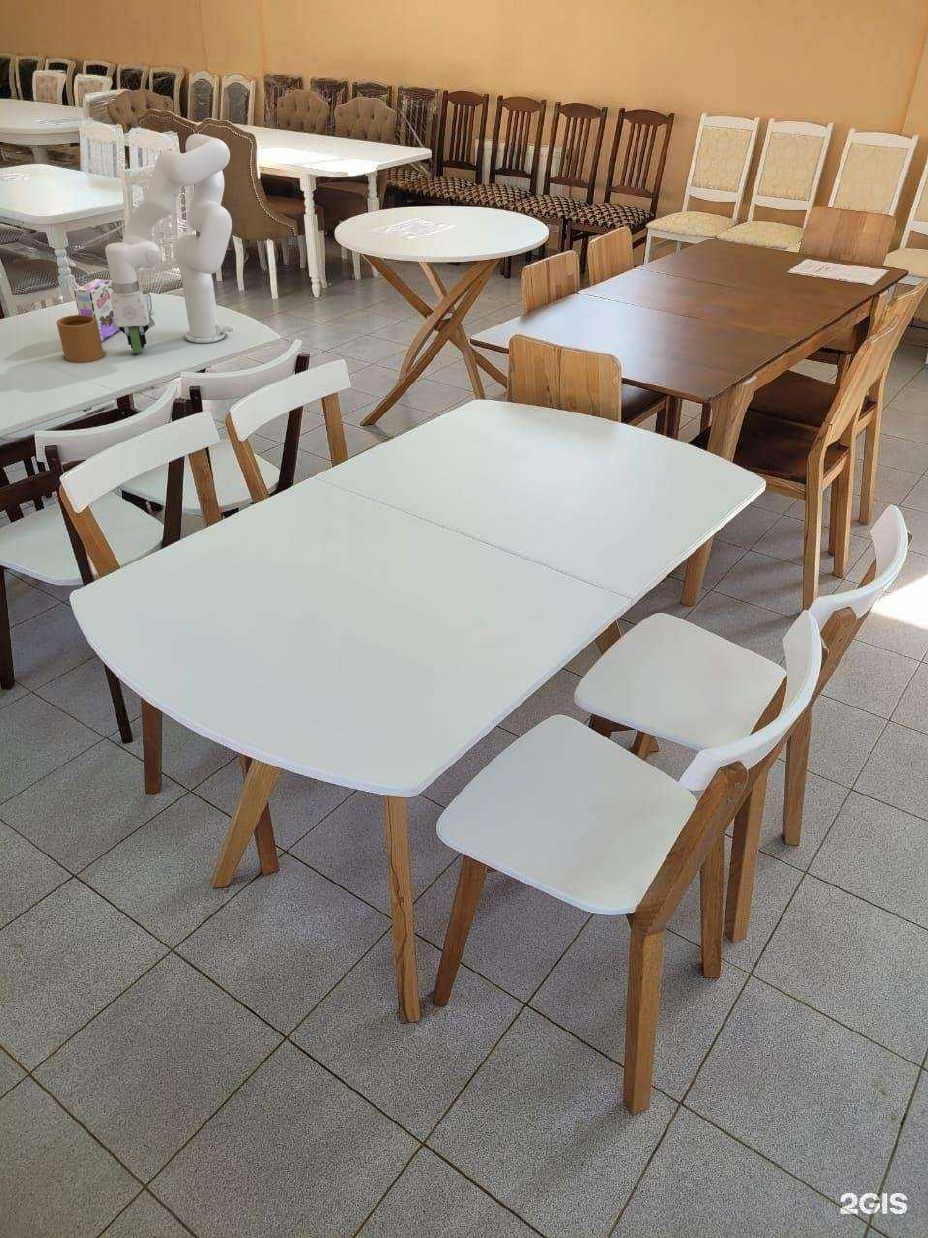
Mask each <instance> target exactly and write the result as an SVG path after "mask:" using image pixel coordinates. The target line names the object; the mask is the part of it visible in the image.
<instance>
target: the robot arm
mask: <svg viewBox="0 0 928 1238" xmlns="http://www.w3.org/2000/svg"><path fill="white" fill-rule="evenodd" d="M184 146H185V152H183V153H182V152H179V151H176V150H175V151H174V150H163V151H161V152H160V153H159V154H158V156H157V157H156V160H155V164H154V167H153V169H152V173H151V176H150V179H149V183H148V186H147V189H146V192H145V195H144V198H143V199H142V201H141V202H140V204H138V206H137V207H136V208H135V210H134V211H133V212H132V214H131V216H130V217H129V219H128V221H127V224H126V226H125V229H124V233H123V236H122V240H121V242H112V243H108V244H107V245H106V246H105V249H104V251H105V256H106V261H107V266H108V271H109V275H110V280H112V282H111V283H110V284H107V286H108V288H111V289H112V290H113V292H112V293H111V300H112V309H113V315H114V321H113V325H112V327H113V328H116V329H119V330H120V331H119V332H121V333H123V334H124V335H125V336H126V339H127V344H128V345H129V346H130V348H131V349H133V347H132V342H131V337H130V332H129V329H128V327H133V326H139V330H140V335H139V337H140V342H141V347H142V348H143V349H144V348H145V346H146V345H147V338H146V333H147V331H149V329H151V328H153V327H154V326H155V325H156V322H155V320H153V318H152V317H151V314H149V311H148V307H147V303H146V300H145V297H144V294H143V292H142V291H143V290H142V289H141V288H140V285H139V284H140V283H139V280H138V273H137V269H144V268H145V269H147V268H148V269H149V268H154V267H157V265H159V264H160V262H161V261H162V258H163V254H162V250H161V248H160V247H159V246H158V245H157V244H156V243H155V242H153V241H151V240H149V236H150V234H151V231H152V230H153V228H154V226H155V225H156V224H157V223H158V222H159V221H161V220H163V219H165V218H167V217H168V216H170V215H171V214H172V213H173V212H174V210H175V207H176V203H177V201H178V197H179V194H180V191H181V188H182V187H191V186H193V185H194V189H193V192H192V196H191V200H190V203H189V207H188V210H187V211H188V212H187V223H188V225H189V226H190V228H191V229H193V230H194V231H196V232H198V233H200V234H199V236H197V235H194V234H184V235H182V236H181V237H179V238H178V239H177V240H176V242H175V245H174V255H175V260H176V264H177V266H178V270H179V273H180V278H181V283H182V288H183V289H182V290H183V297H184V304H185V310H186V315H187V324H188V329H189V330H188V331H187V332H185V334H184V335H185V336H184V337H185V339H186V340H187V341H189V342H192V343H198V344H207V343H214V342H218V341H221V340H222V339H224V338H225V336H226V333H227V332H228V333H233V332H234V325H230V324H229V323H225V324H223V323H221V321H220V320H221V319H219V317H218V311H217V303H216V295H215V288H214V280H213V274H215V273H217V272H218V271H219V270H220V269H221V267H222V265H223V263H224V260H225V257H226V252H227V250H228V247H229V246H228V245H229V242H230V239H231V234H232V230H233V221H232V216H231V214H230V212H229V211H228V209H226V208H225V207H224V206H223V205H222V201H223V197H224V193H225V176H224V172H223V170H224V169H225V168H226V167H227V166H228V165H229V163H230V159H231V151H230V149H229V147H228V145H227V144H226V142H225V141H223V140H221V139H219V138H217V137H213V136H209V135H206V134H202V133H193V134H191V135H189V136H188V137H187V138H186V141H185V145H184Z"/></svg>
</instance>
